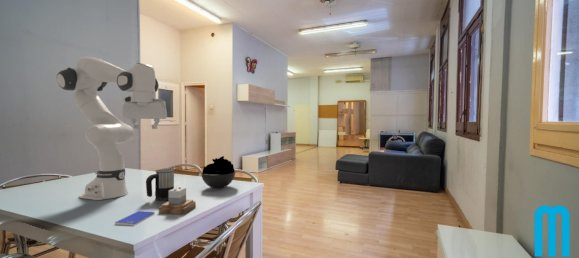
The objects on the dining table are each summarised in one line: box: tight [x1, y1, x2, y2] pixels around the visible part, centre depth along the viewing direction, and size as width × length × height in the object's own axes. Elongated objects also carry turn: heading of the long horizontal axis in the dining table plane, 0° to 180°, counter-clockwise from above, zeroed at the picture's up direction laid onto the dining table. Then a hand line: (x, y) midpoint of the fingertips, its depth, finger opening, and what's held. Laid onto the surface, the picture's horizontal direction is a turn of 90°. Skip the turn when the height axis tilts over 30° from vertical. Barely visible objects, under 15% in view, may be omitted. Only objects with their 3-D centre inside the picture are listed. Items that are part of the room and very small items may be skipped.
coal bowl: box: [200, 155, 236, 190], centre depth 154 cm, size 20×20×19 cm
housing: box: [169, 186, 187, 205], centre depth 115 cm, size 6×5×6 cm
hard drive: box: [114, 210, 155, 227], centre depth 104 cm, size 2×8×12 cm
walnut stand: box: [158, 199, 196, 215], centre depth 115 cm, size 12×10×4 cm
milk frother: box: [145, 168, 175, 202], centre depth 130 cm, size 14×16×15 cm
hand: (145, 128), depth 117 cm, fingers open, 8 cm apart
